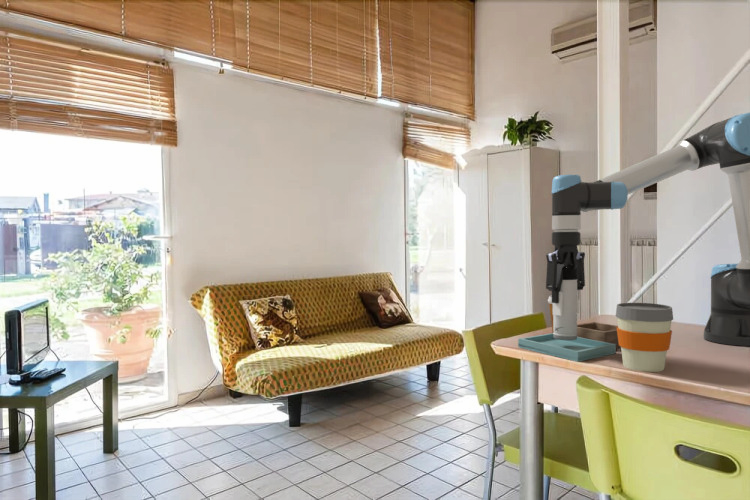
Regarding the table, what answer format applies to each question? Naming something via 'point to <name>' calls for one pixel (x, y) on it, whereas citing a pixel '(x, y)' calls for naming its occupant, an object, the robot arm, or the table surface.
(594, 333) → the brown wooden crate
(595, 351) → the tray
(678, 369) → the table surface
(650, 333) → the reusable coffee cup
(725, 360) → the table surface
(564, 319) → the travel mug
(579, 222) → the robot arm
